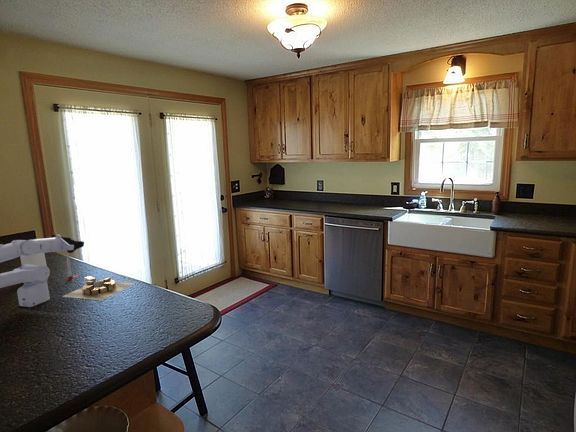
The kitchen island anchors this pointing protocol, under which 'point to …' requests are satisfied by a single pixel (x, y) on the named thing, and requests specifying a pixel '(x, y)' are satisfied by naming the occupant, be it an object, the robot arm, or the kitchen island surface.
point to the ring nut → (90, 288)
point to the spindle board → (99, 296)
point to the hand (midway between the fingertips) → (76, 242)
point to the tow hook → (69, 270)
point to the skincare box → (34, 259)
